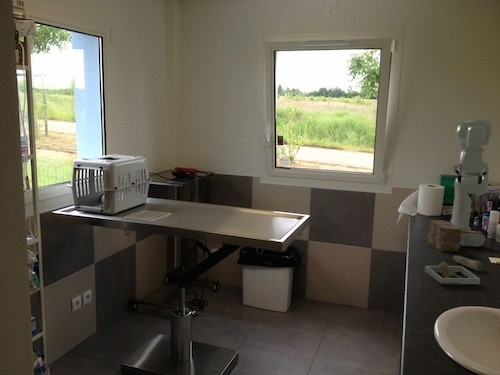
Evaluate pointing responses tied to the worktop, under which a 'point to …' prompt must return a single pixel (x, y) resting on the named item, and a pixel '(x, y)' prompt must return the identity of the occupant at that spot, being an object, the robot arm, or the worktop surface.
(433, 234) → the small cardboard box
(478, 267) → the bone fragment
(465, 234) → the tin
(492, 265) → the worktop surface
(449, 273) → the vertebra
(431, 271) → the frame
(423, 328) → the worktop surface
